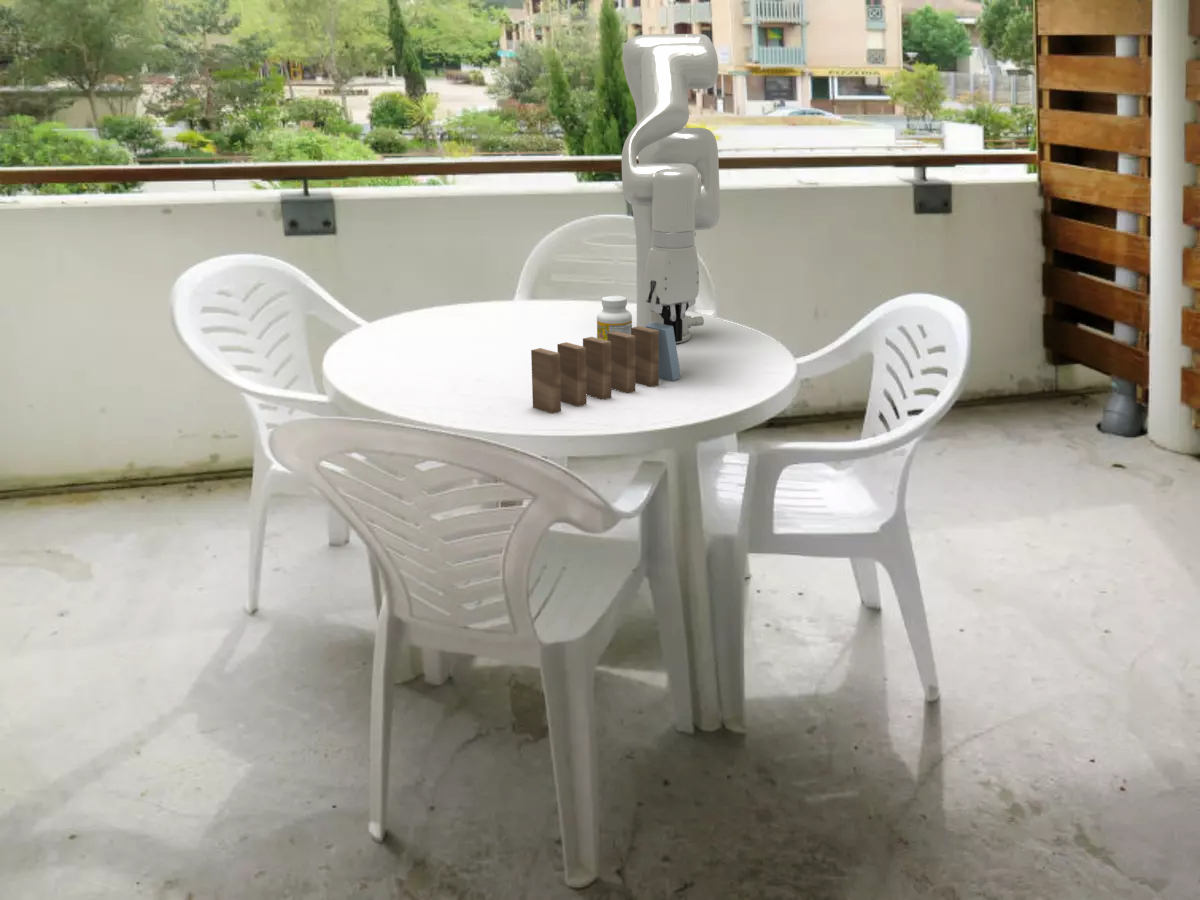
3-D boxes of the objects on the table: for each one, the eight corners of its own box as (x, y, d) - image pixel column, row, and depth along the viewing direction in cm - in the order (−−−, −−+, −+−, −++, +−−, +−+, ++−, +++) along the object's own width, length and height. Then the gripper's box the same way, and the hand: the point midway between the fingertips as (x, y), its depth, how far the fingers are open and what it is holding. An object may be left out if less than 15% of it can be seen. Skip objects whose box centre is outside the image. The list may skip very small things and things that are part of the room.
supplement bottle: (595, 360, 250) (595, 295, 246) (630, 359, 250) (629, 293, 246) (599, 369, 243) (598, 302, 239) (634, 368, 244) (633, 301, 240)
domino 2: (567, 398, 225) (566, 342, 222) (586, 404, 222) (585, 347, 218) (558, 400, 224) (557, 344, 221) (577, 406, 220) (576, 349, 217)
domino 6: (661, 371, 240) (653, 321, 235) (680, 376, 236) (673, 326, 232) (653, 375, 239) (645, 325, 234) (673, 381, 235) (665, 330, 231)
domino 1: (541, 405, 221) (540, 348, 218) (560, 410, 218) (559, 353, 215) (532, 407, 220) (531, 350, 217) (551, 413, 217) (550, 355, 214)
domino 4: (616, 385, 233) (615, 331, 229) (635, 391, 229) (635, 335, 226) (607, 387, 231) (607, 333, 228) (627, 393, 228) (626, 337, 225)
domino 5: (639, 379, 236) (639, 326, 233) (658, 384, 233) (658, 330, 230) (631, 381, 235) (631, 327, 232) (650, 387, 231) (650, 332, 228)
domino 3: (592, 391, 229) (591, 336, 226) (611, 397, 225) (610, 341, 222) (583, 394, 228) (582, 338, 224) (602, 399, 224) (602, 343, 221)
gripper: (687, 233, 238) (686, 330, 244) (628, 242, 228) (629, 344, 234) (717, 237, 233) (715, 337, 238) (658, 247, 223) (658, 351, 229)
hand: (672, 340), depth 236 cm, fingers closed
